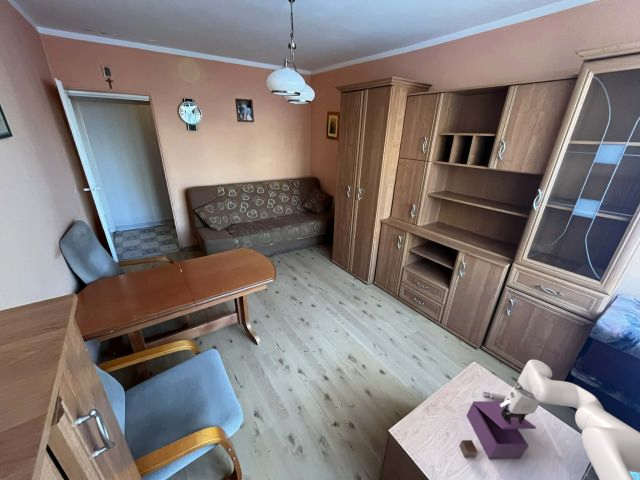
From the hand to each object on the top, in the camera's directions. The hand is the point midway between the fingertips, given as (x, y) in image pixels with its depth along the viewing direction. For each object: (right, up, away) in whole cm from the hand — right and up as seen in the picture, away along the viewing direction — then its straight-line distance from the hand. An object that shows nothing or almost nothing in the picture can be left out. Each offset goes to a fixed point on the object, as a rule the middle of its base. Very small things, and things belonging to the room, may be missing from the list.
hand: (511, 417), depth 109 cm
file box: (-1, -16, +11) cm, 20 cm away
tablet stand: (+9, -10, +25) cm, 29 cm away
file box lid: (0, -2, +5) cm, 6 cm away
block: (-16, -18, +5) cm, 25 cm away
